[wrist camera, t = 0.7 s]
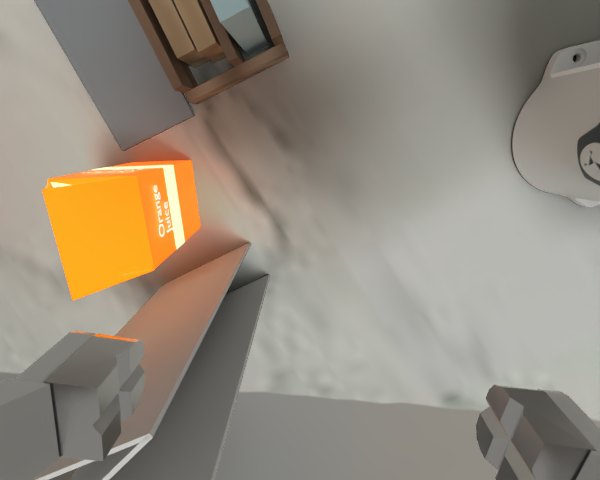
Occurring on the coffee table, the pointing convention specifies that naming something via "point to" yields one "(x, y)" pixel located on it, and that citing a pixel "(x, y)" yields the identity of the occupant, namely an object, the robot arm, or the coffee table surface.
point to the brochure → (183, 377)
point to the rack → (242, 69)
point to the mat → (116, 67)
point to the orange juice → (120, 220)
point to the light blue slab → (241, 23)
